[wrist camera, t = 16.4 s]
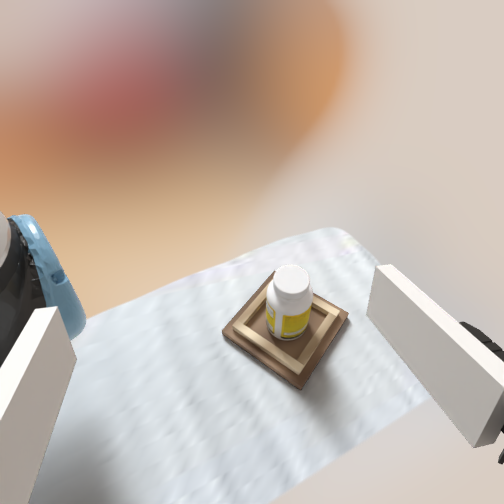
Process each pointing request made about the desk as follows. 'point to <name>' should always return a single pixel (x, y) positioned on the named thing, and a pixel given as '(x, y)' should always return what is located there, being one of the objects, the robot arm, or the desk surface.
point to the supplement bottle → (288, 302)
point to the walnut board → (282, 351)
